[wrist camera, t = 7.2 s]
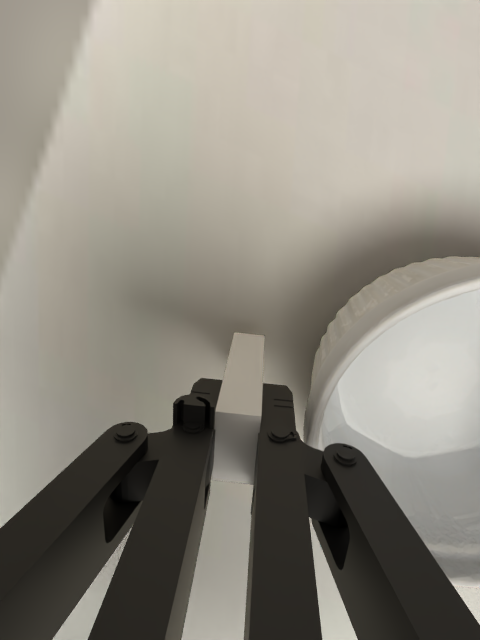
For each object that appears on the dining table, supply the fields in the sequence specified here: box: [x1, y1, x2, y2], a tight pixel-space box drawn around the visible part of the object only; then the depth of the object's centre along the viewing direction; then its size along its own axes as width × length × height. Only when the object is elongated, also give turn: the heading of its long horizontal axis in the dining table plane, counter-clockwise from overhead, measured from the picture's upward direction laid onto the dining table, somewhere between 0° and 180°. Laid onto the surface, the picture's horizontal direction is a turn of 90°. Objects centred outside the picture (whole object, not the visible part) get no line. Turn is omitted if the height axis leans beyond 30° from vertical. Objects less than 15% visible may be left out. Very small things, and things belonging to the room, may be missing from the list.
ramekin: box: [304, 256, 480, 588], centre depth 16 cm, size 13×13×7 cm
